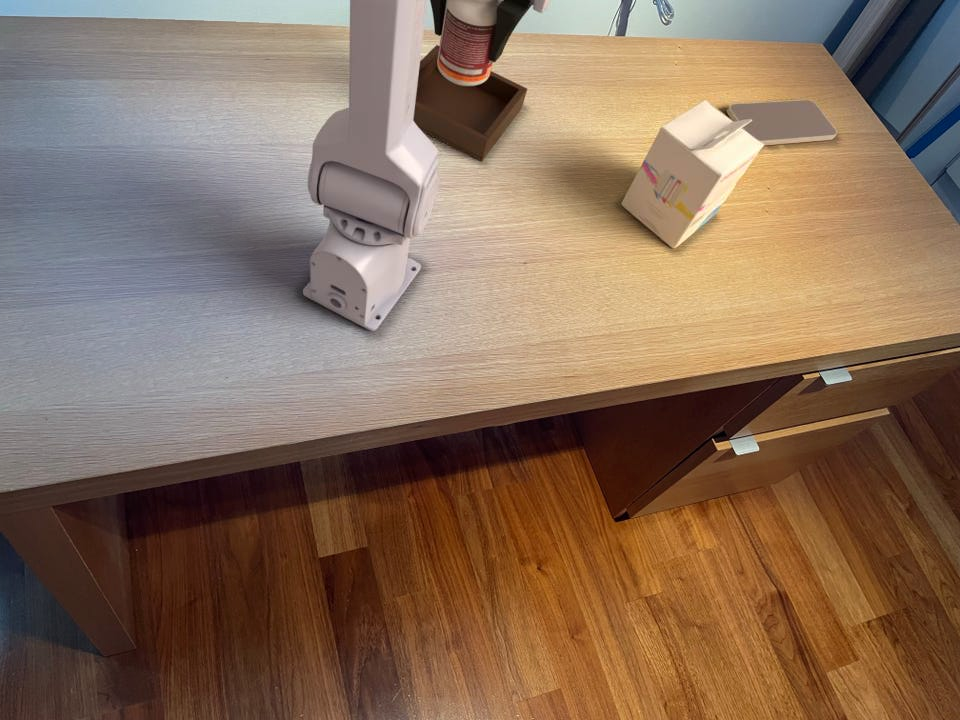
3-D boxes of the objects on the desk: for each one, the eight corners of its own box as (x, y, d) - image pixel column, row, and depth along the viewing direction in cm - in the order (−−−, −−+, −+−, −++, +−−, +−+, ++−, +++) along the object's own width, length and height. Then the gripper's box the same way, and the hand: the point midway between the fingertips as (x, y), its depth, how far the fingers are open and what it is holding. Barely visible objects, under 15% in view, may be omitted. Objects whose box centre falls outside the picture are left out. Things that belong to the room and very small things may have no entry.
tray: (481, 161, 79) (487, 141, 76) (387, 114, 80) (389, 93, 77) (521, 108, 85) (527, 88, 83) (433, 65, 86) (436, 44, 84)
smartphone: (840, 135, 94) (753, 142, 89) (836, 140, 94) (749, 147, 90) (812, 98, 97) (726, 103, 92) (808, 104, 98) (723, 109, 93)
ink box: (660, 175, 84) (712, 82, 72) (713, 218, 81) (775, 129, 70) (618, 205, 80) (666, 112, 68) (673, 251, 77) (732, 162, 66)
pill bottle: (495, 89, 77) (518, -4, 68) (442, 88, 75) (458, -7, 66) (483, 53, 80) (503, -41, 71) (431, 52, 78) (445, -45, 69)
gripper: (579, -72, 65) (541, 54, 76) (445, -134, 66) (428, -1, 77) (551, -42, 61) (516, 86, 73) (410, -108, 62) (397, 28, 74)
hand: (468, 43), depth 75 cm, fingers closed on pill bottle, 6 cm apart
